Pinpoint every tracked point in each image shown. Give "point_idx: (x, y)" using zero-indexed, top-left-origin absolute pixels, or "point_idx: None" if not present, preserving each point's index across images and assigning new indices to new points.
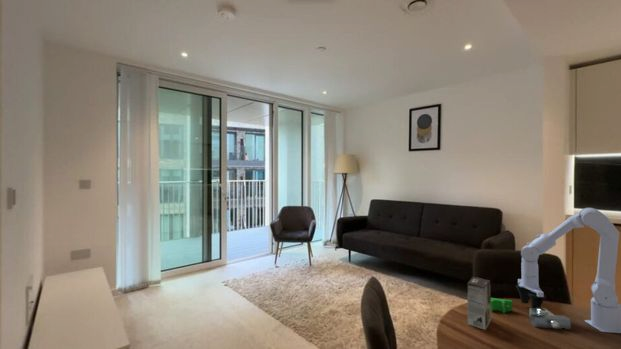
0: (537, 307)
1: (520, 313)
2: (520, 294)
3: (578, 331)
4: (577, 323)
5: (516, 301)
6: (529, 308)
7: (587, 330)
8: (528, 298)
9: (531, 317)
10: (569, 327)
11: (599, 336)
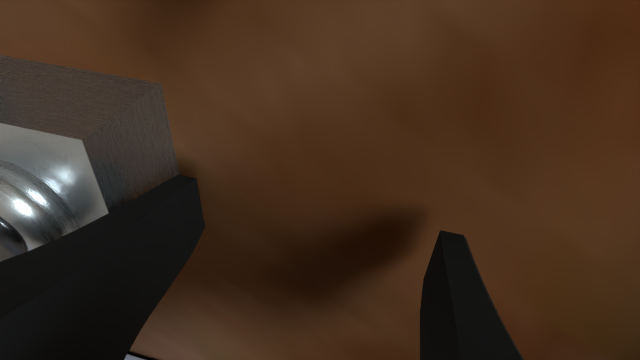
0: (28, 221)
1: (214, 9)
2: (469, 344)
3: None
4: (144, 324)
5: (633, 235)
6: (82, 135)
7: None
8: (422, 351)
9: None
10: None
11: None
